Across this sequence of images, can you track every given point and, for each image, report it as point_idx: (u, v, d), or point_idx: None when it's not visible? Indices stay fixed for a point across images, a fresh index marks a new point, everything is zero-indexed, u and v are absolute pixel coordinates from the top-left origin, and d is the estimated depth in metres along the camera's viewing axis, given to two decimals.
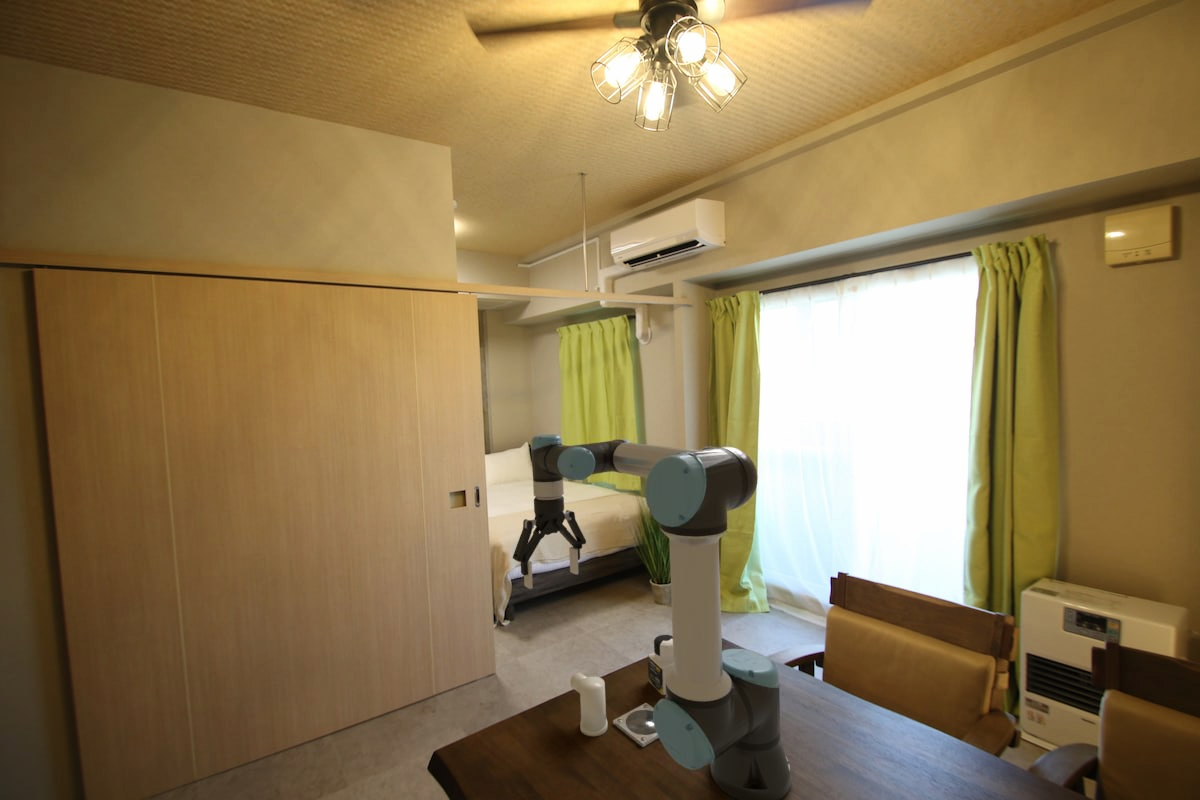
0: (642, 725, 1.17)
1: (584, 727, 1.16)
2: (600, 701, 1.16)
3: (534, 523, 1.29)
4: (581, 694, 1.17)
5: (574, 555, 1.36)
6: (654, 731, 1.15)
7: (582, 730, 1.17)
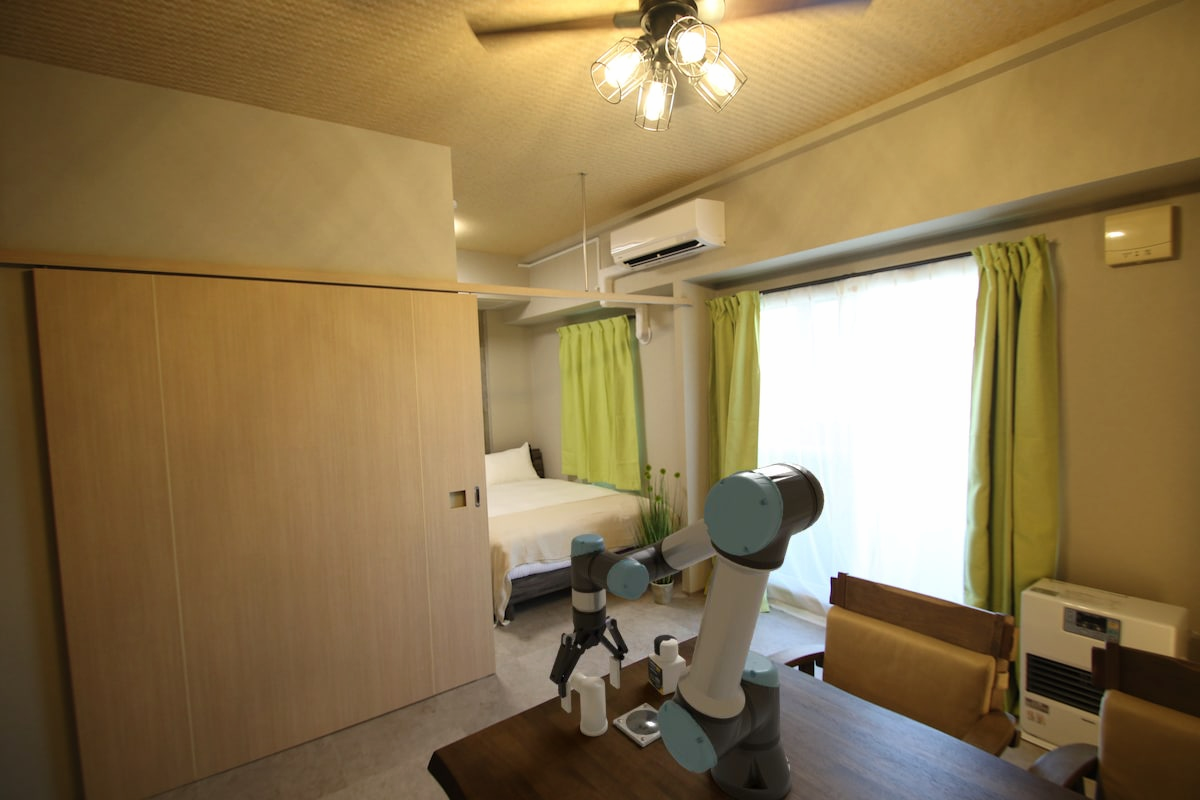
0: (642, 725, 1.17)
1: (584, 727, 1.16)
2: (600, 701, 1.16)
3: (573, 638, 1.14)
4: (581, 694, 1.17)
5: (615, 667, 1.21)
6: (654, 731, 1.15)
7: (582, 730, 1.17)
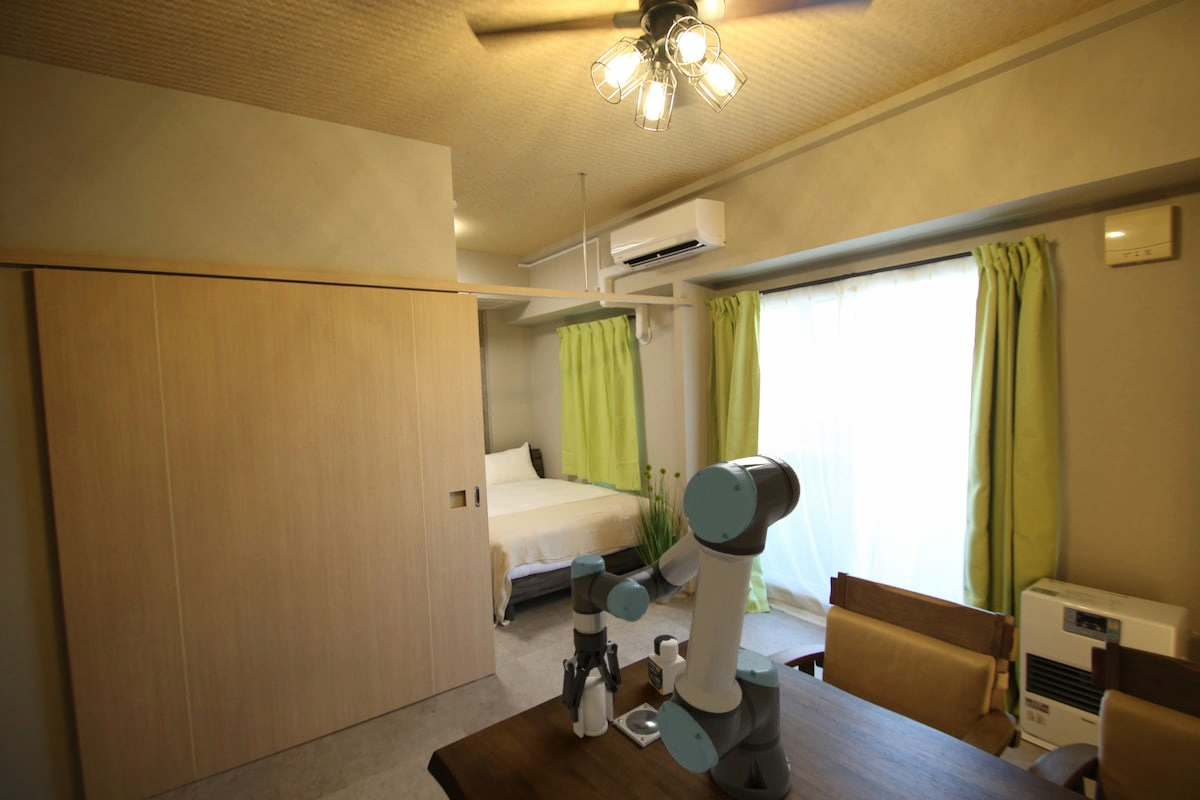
0: (642, 725, 1.17)
1: (584, 727, 1.16)
2: (600, 701, 1.16)
3: (575, 662, 1.15)
4: None
5: (608, 699, 1.20)
6: (654, 731, 1.15)
7: None
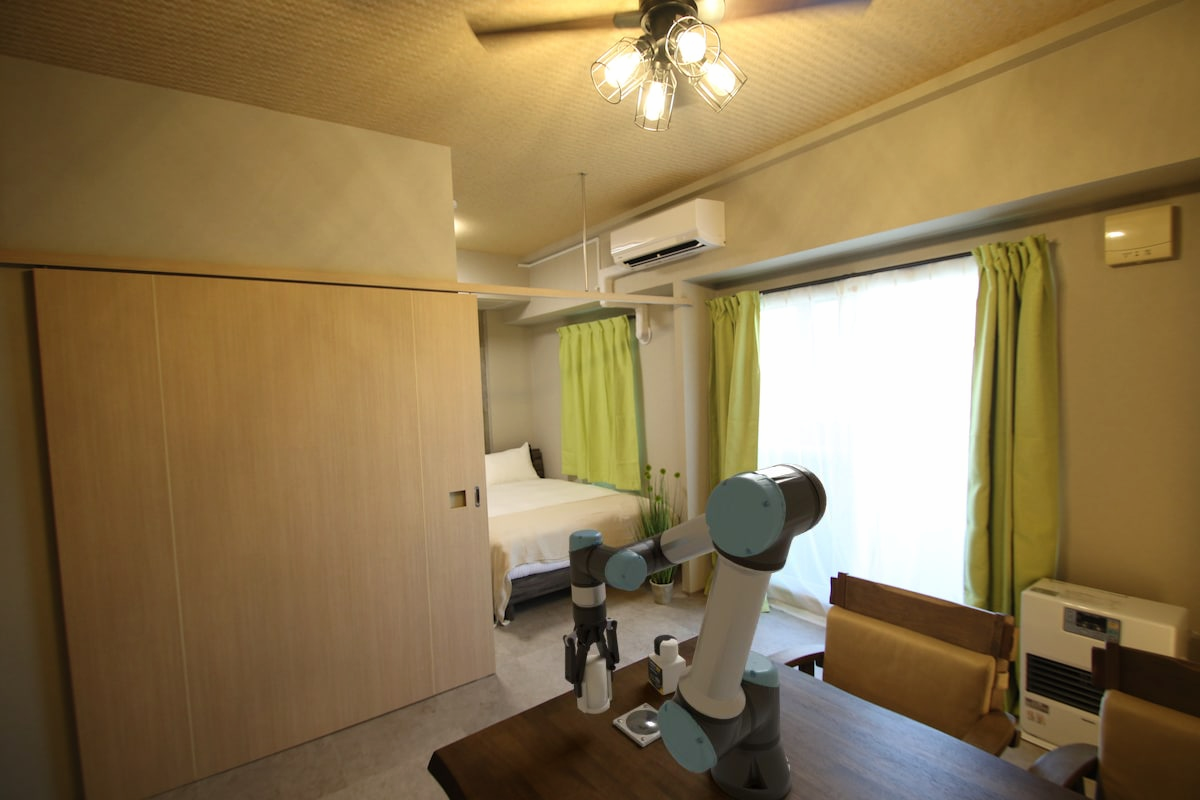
0: (642, 725, 1.17)
1: None
2: (601, 677, 1.15)
3: (575, 636, 1.14)
4: None
5: (607, 678, 1.19)
6: (654, 731, 1.15)
7: None
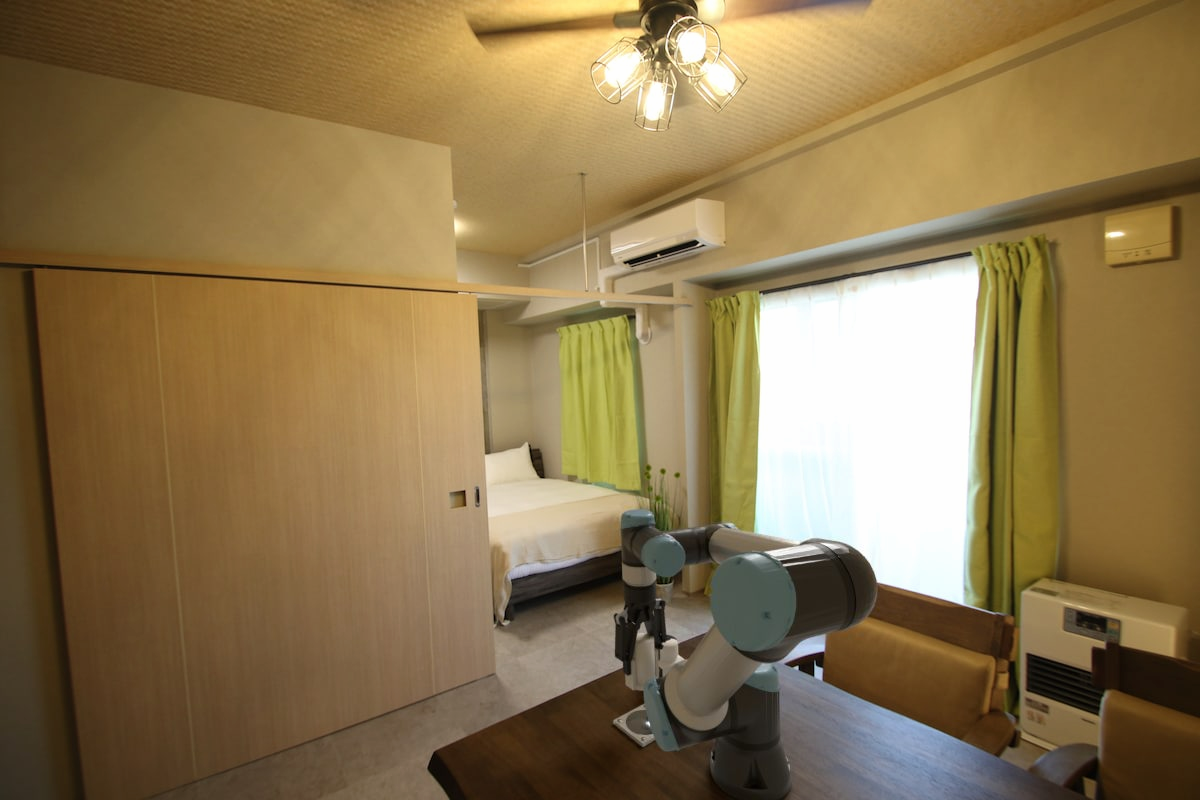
0: (642, 725, 1.17)
1: None
2: (650, 655, 1.16)
3: (626, 615, 1.14)
4: None
5: None
6: None
7: None
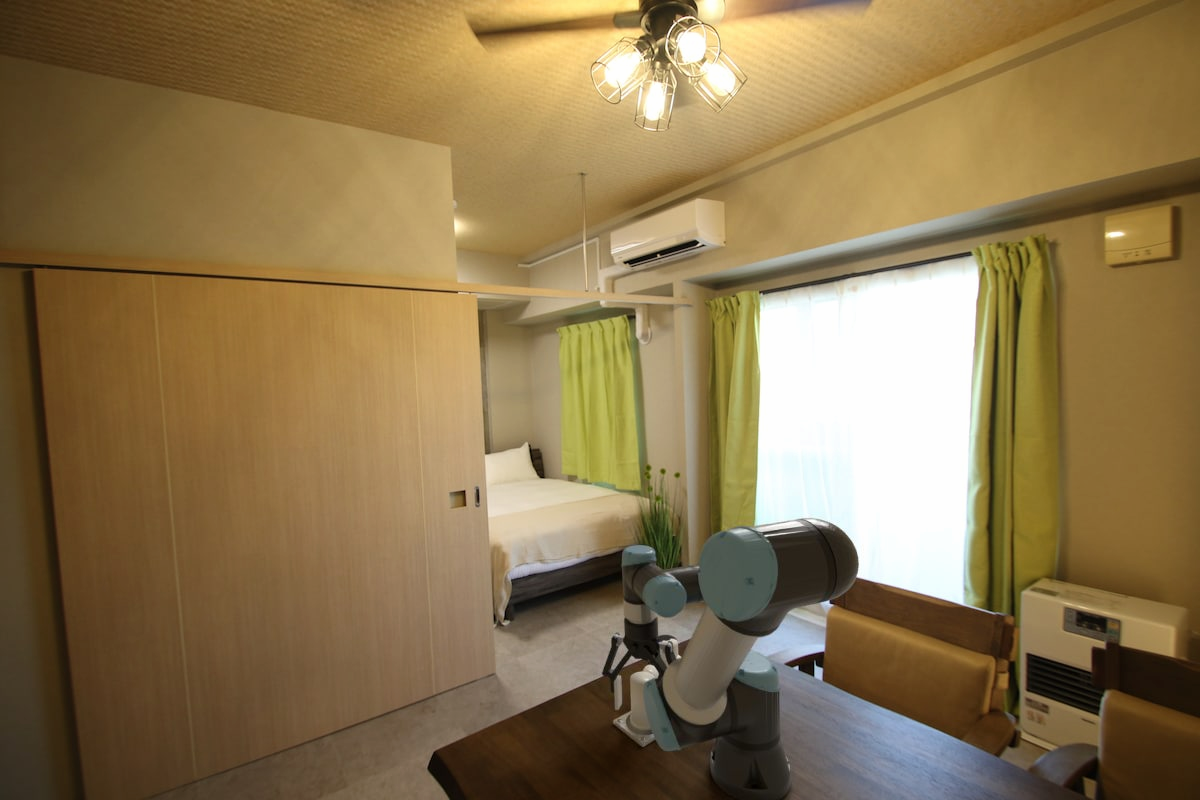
0: None
1: None
2: (639, 697, 1.15)
3: (621, 640, 1.19)
4: None
5: None
6: None
7: None
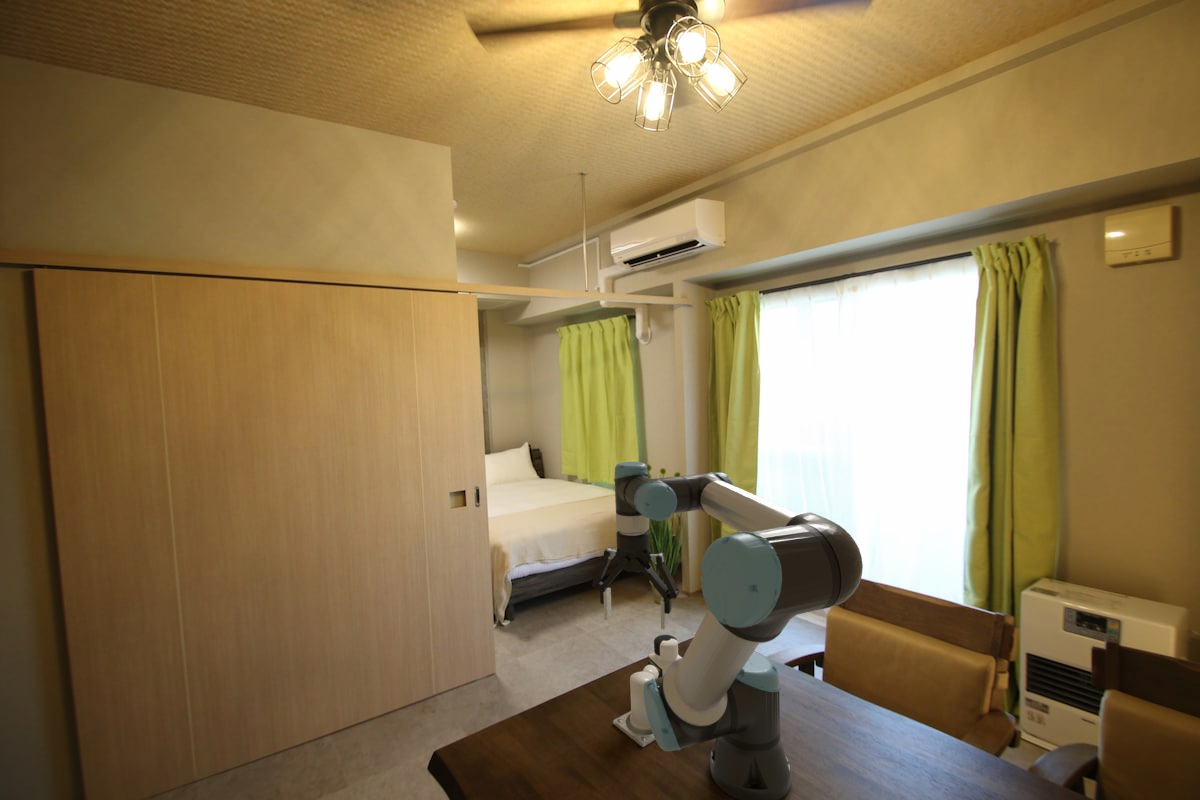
0: None
1: None
2: (639, 697, 1.15)
3: (613, 554, 1.21)
4: None
5: None
6: None
7: None
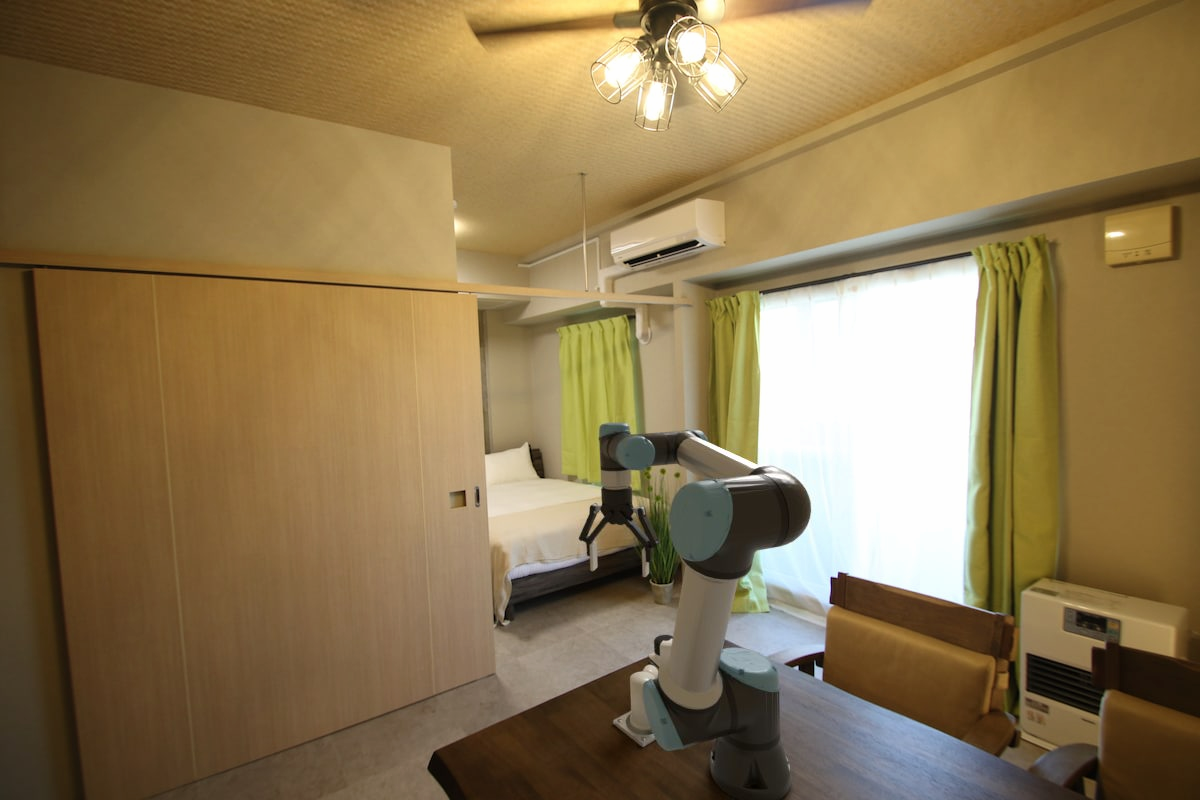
0: None
1: None
2: (639, 697, 1.15)
3: (599, 509, 1.30)
4: None
5: None
6: None
7: None
